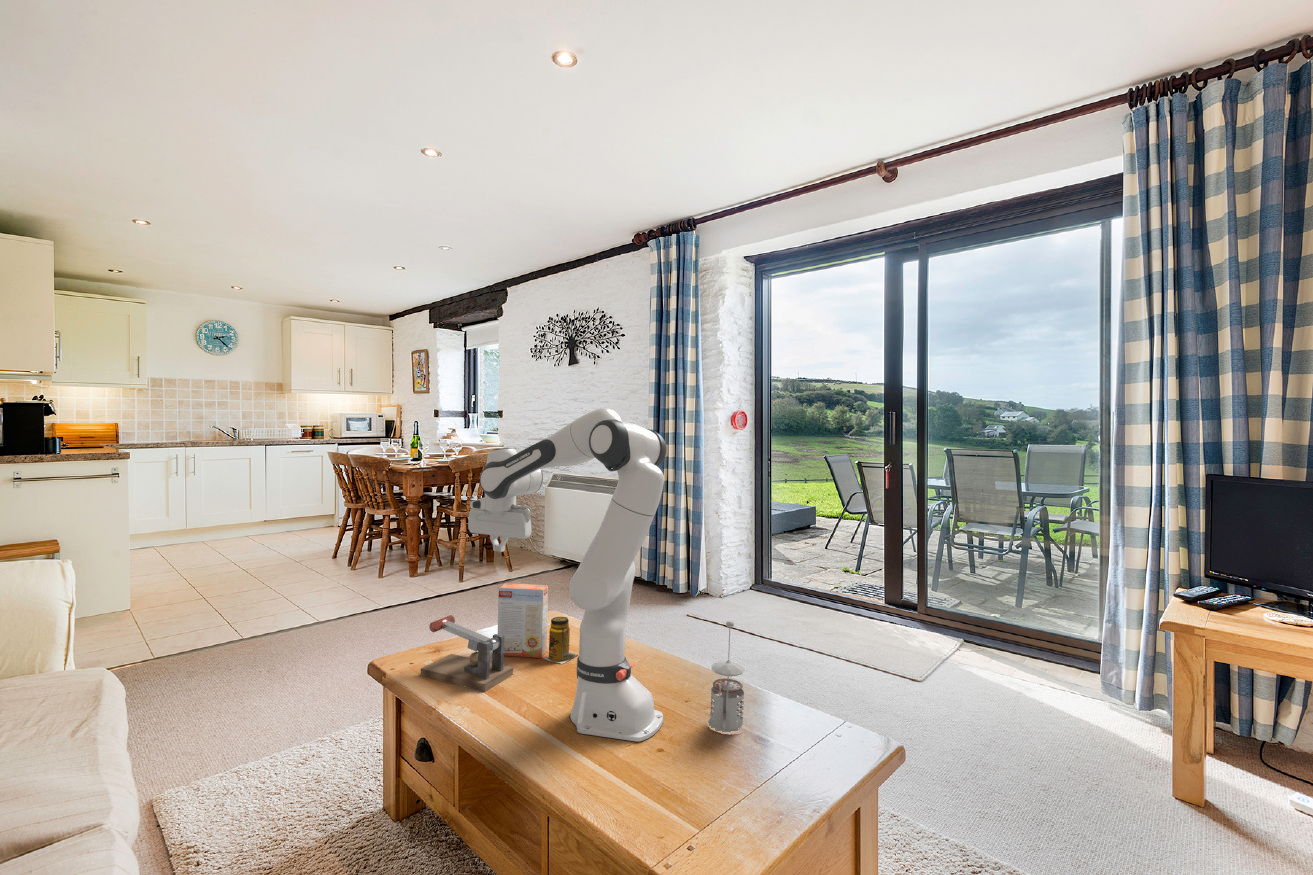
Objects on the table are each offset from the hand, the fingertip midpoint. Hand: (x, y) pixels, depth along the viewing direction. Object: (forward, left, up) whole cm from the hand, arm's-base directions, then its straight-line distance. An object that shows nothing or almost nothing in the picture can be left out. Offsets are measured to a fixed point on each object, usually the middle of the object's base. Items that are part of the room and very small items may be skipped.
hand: (498, 550), depth 173 cm
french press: (-71, +5, -33) cm, 79 cm away
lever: (+3, +10, -24) cm, 27 cm away
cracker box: (-2, -10, -33) cm, 35 cm away
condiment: (-14, -13, -33) cm, 39 cm away
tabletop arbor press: (+2, +10, -33) cm, 35 cm away
